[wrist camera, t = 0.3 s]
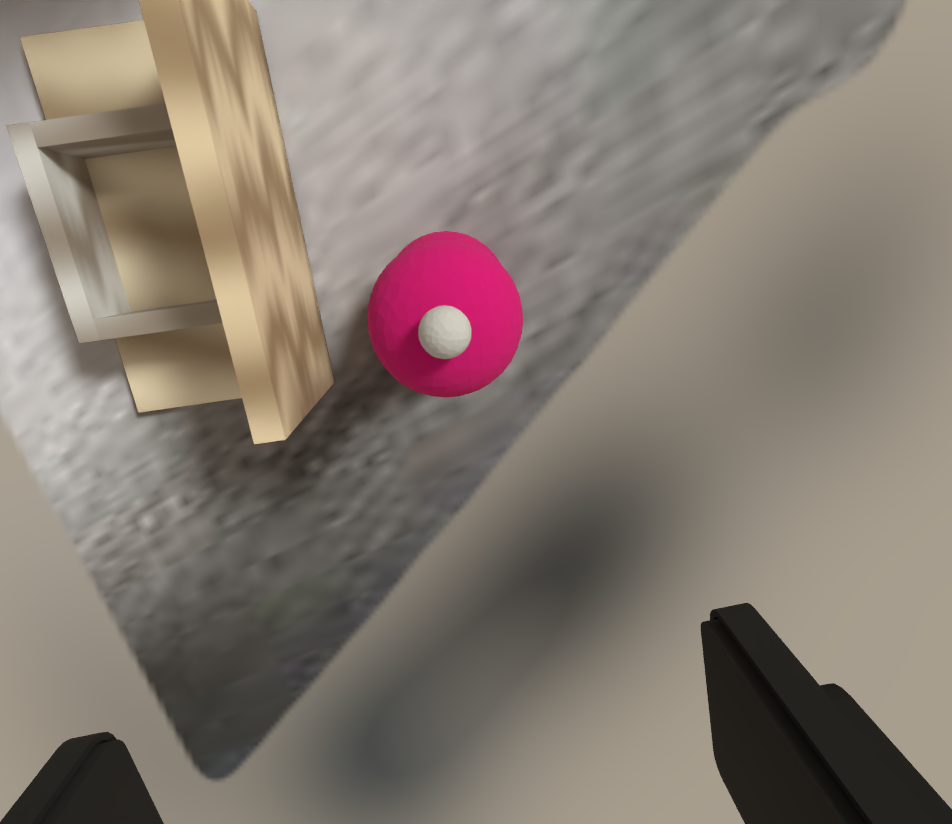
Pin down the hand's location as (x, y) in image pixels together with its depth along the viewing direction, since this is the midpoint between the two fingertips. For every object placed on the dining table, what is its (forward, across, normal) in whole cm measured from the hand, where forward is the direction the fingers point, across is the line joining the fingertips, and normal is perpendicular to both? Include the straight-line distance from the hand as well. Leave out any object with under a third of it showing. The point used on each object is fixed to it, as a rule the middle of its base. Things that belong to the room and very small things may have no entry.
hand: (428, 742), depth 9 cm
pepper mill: (+31, -1, -5) cm, 31 cm away
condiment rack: (+31, +13, -12) cm, 36 cm away
